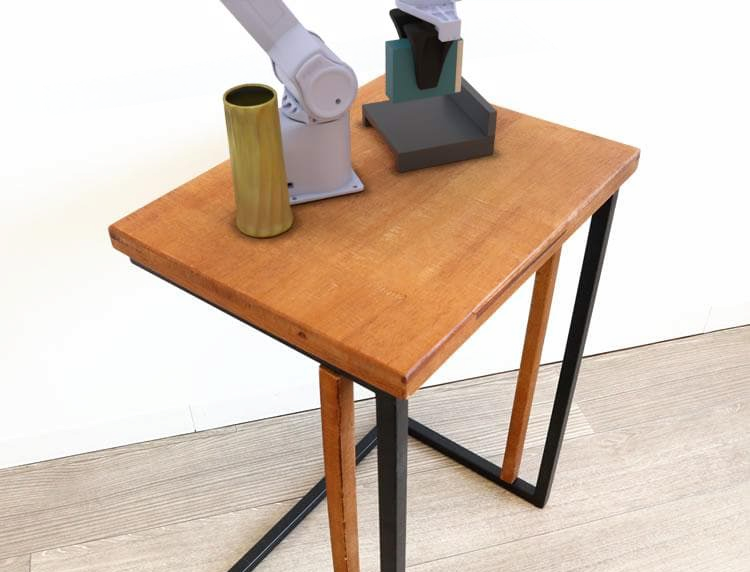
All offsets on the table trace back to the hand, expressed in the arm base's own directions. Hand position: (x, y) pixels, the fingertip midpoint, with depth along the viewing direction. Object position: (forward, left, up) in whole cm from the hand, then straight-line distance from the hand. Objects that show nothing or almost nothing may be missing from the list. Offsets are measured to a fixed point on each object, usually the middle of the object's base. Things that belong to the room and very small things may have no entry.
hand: (422, 81), depth 93 cm
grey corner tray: (+2, +4, -9) cm, 10 cm away
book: (0, 0, -1) cm, 1 cm away
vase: (-21, -7, -10) cm, 24 cm away
